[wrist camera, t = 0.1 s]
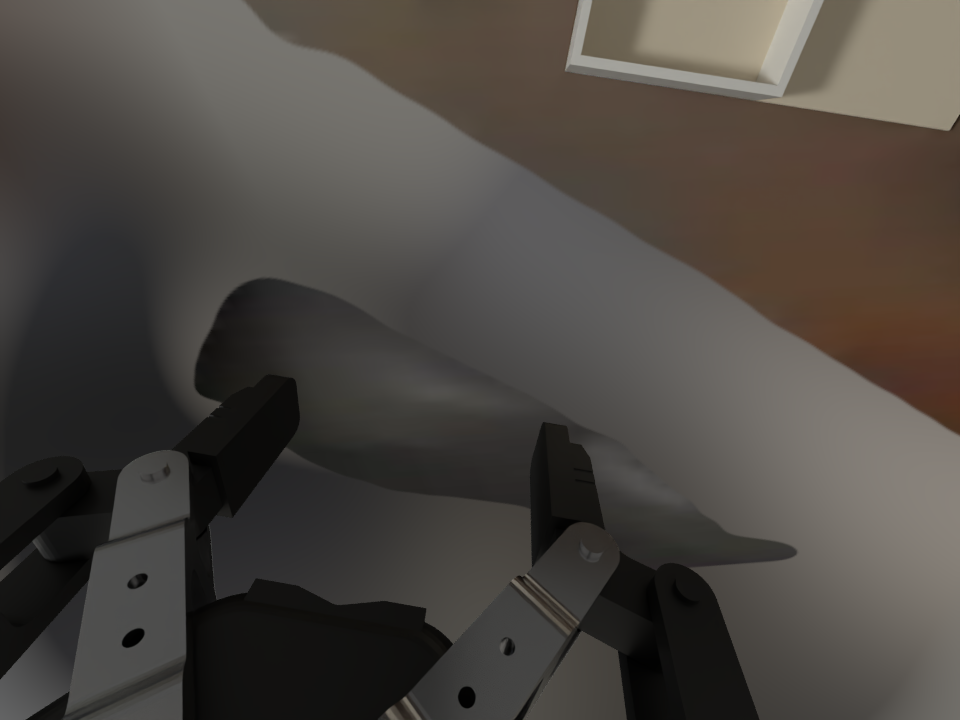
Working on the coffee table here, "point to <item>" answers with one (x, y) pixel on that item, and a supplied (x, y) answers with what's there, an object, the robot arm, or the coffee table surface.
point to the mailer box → (784, 52)
